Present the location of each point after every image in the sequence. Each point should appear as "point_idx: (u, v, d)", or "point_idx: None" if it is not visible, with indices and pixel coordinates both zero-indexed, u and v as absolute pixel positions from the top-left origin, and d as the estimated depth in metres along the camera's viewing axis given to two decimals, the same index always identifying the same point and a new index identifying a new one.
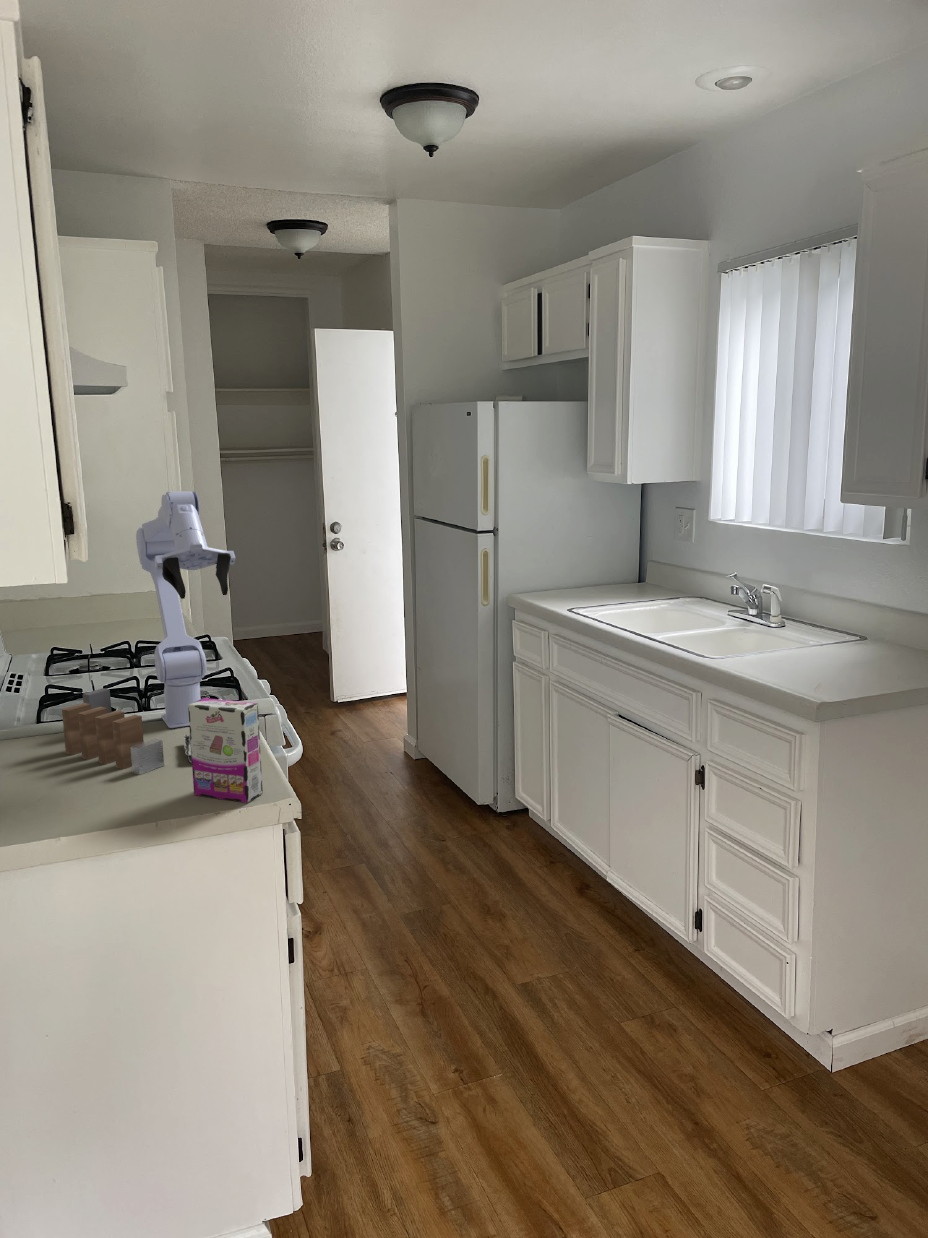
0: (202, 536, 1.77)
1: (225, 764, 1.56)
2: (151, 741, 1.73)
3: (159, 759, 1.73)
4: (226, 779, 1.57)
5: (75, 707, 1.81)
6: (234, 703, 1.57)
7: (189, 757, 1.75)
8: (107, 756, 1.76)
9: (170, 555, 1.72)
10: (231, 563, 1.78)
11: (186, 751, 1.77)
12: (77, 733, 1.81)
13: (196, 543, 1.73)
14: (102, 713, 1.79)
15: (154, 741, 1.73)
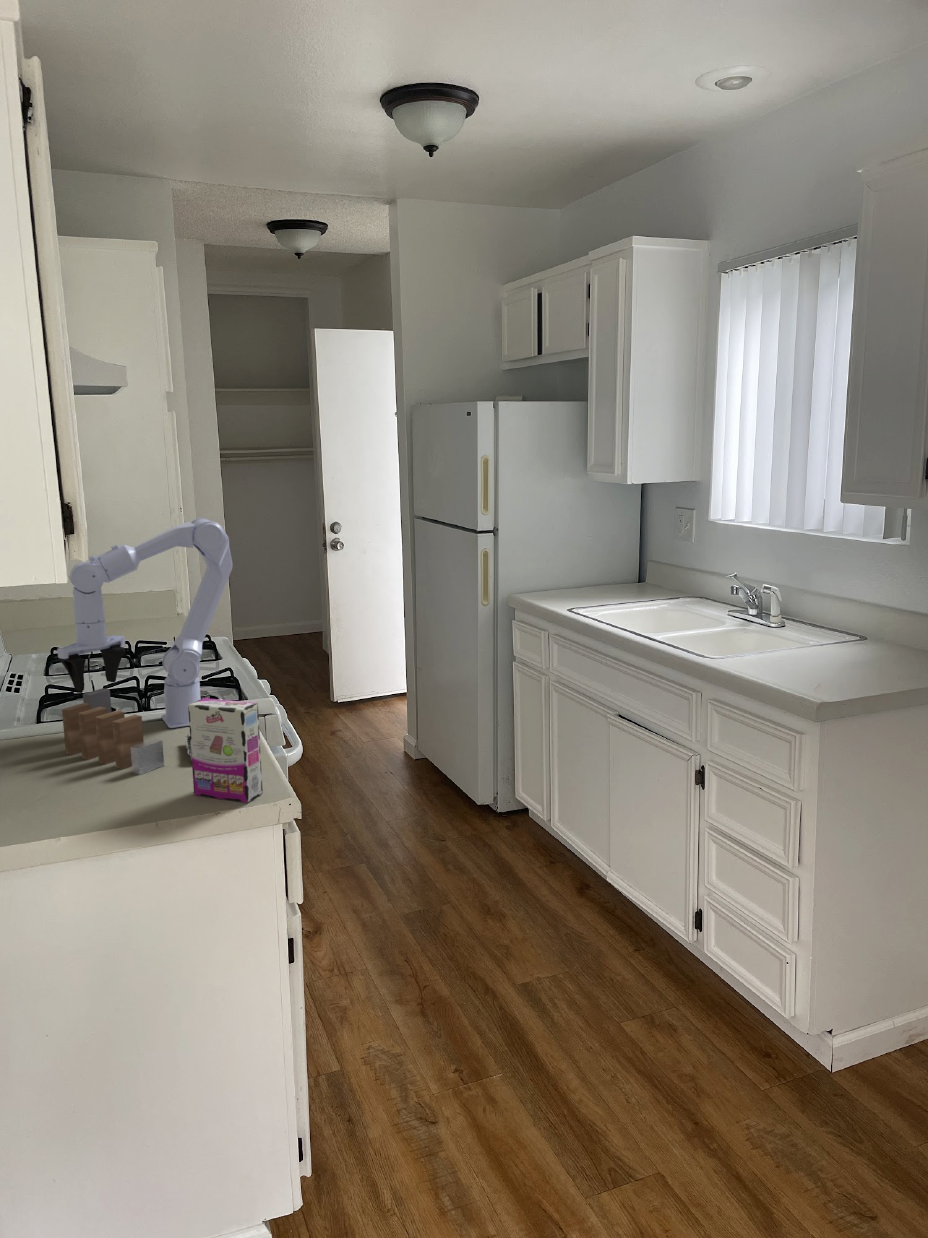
0: None
1: (225, 764, 1.56)
2: (151, 741, 1.73)
3: (159, 759, 1.73)
4: (226, 779, 1.57)
5: (75, 707, 1.81)
6: (234, 703, 1.57)
7: (191, 757, 1.75)
8: (108, 756, 1.76)
9: None
10: None
11: (188, 751, 1.77)
12: (77, 733, 1.81)
13: None
14: (102, 713, 1.79)
15: (154, 741, 1.73)
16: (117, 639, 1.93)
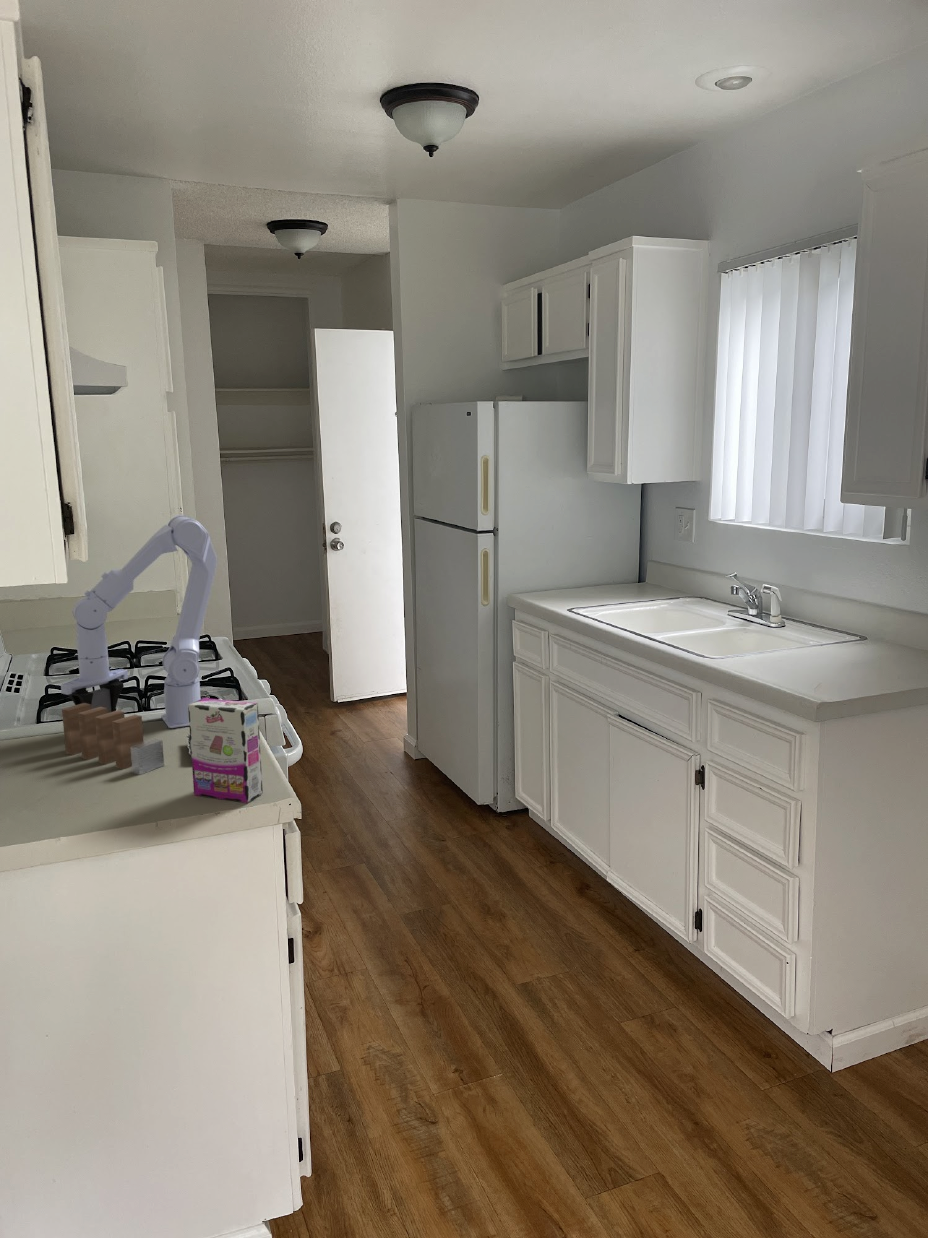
0: None
1: (225, 764, 1.56)
2: (151, 741, 1.73)
3: (159, 759, 1.73)
4: (226, 779, 1.57)
5: (75, 707, 1.81)
6: (234, 703, 1.57)
7: None
8: (107, 756, 1.76)
9: None
10: None
11: (190, 751, 1.77)
12: (77, 733, 1.81)
13: None
14: (102, 713, 1.79)
15: (154, 741, 1.73)
16: (119, 673, 1.95)
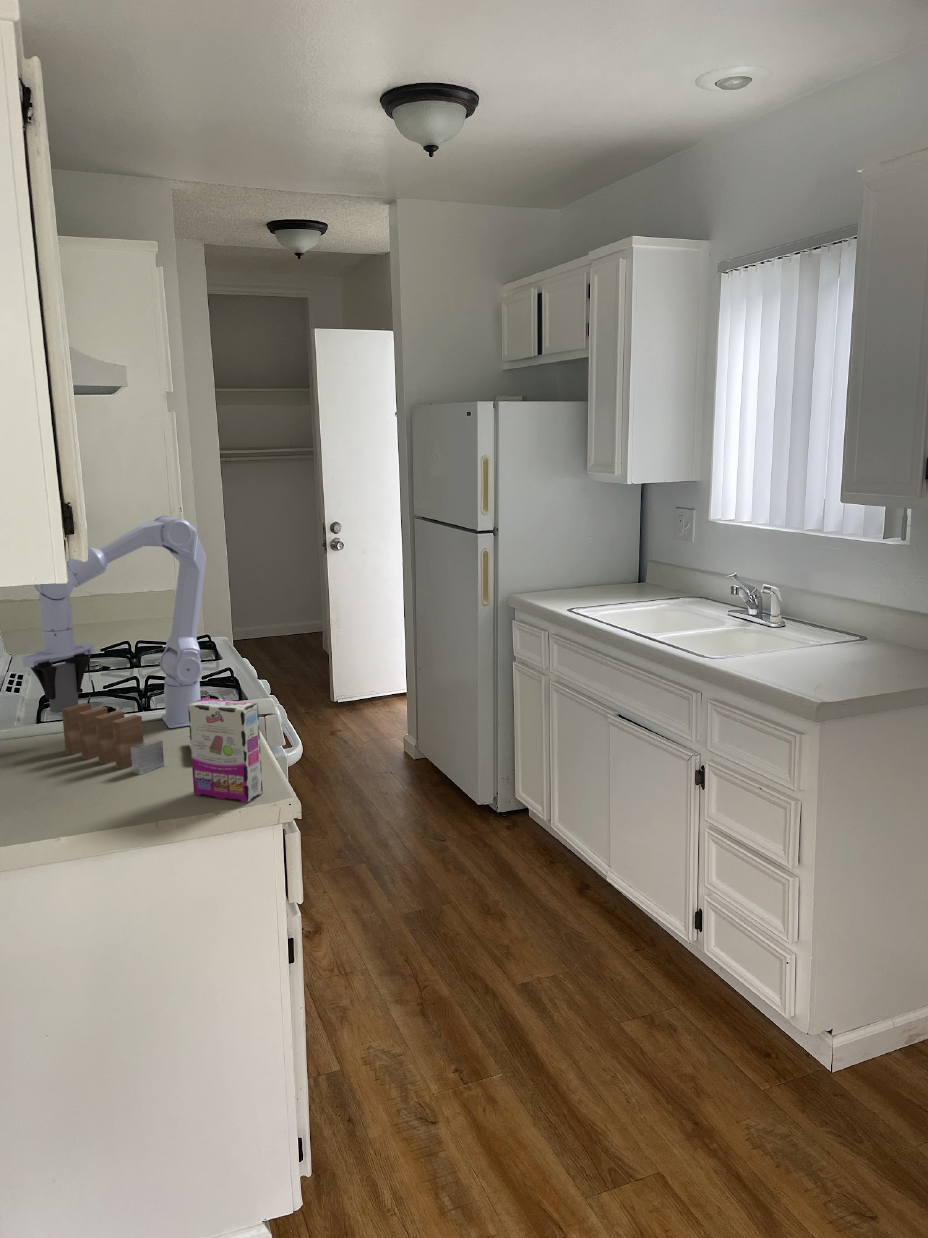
0: None
1: (225, 764, 1.56)
2: (151, 741, 1.73)
3: (159, 759, 1.73)
4: (226, 779, 1.57)
5: (75, 707, 1.81)
6: (234, 703, 1.57)
7: None
8: (107, 756, 1.76)
9: None
10: None
11: None
12: (77, 733, 1.81)
13: None
14: (102, 713, 1.79)
15: (154, 741, 1.73)
16: (86, 647, 1.87)
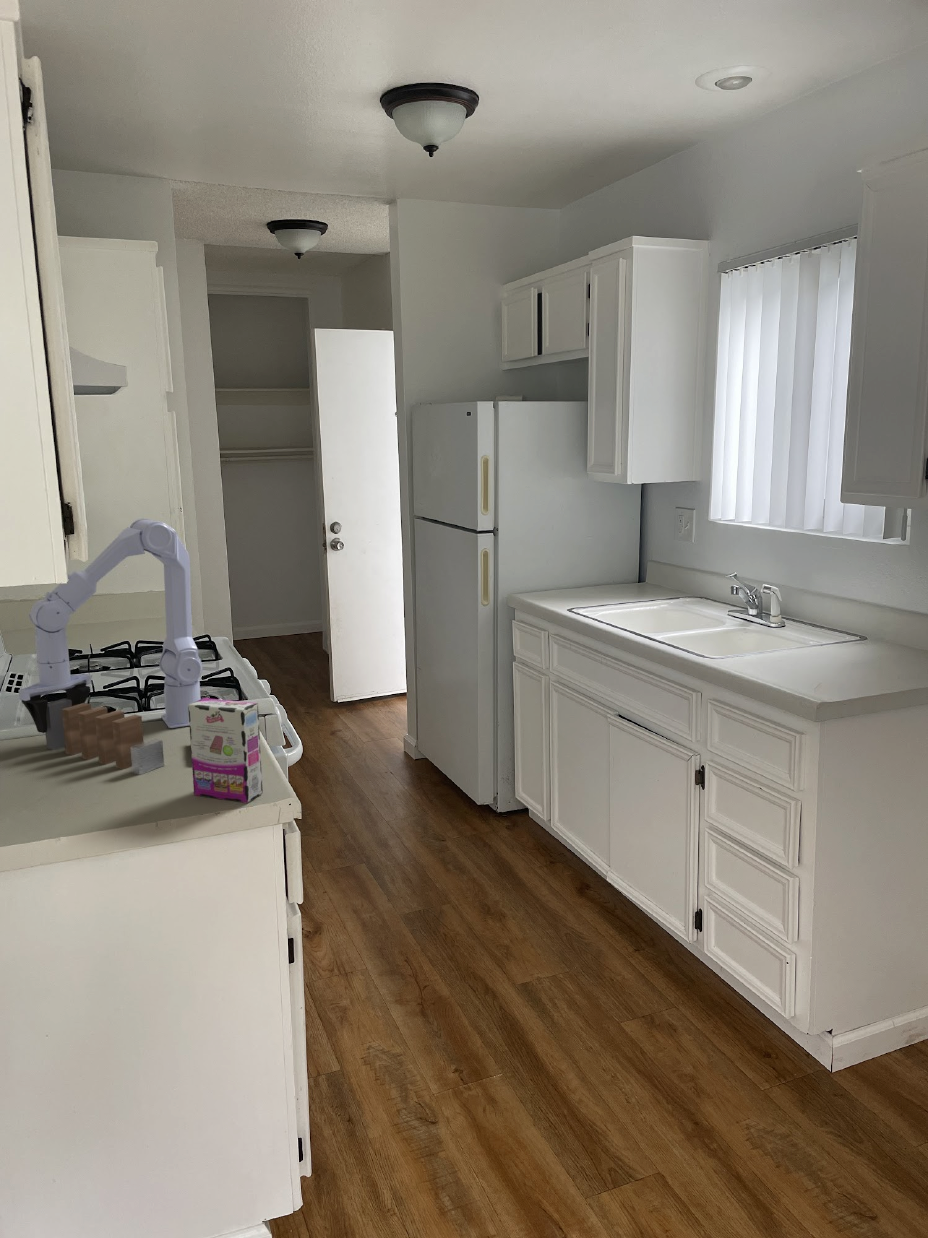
0: None
1: (225, 764, 1.56)
2: (151, 741, 1.73)
3: (159, 759, 1.73)
4: (226, 779, 1.57)
5: (75, 707, 1.81)
6: (234, 703, 1.57)
7: None
8: (108, 756, 1.76)
9: None
10: None
11: None
12: (77, 733, 1.81)
13: None
14: (102, 713, 1.79)
15: (154, 741, 1.73)
16: (82, 678, 1.87)
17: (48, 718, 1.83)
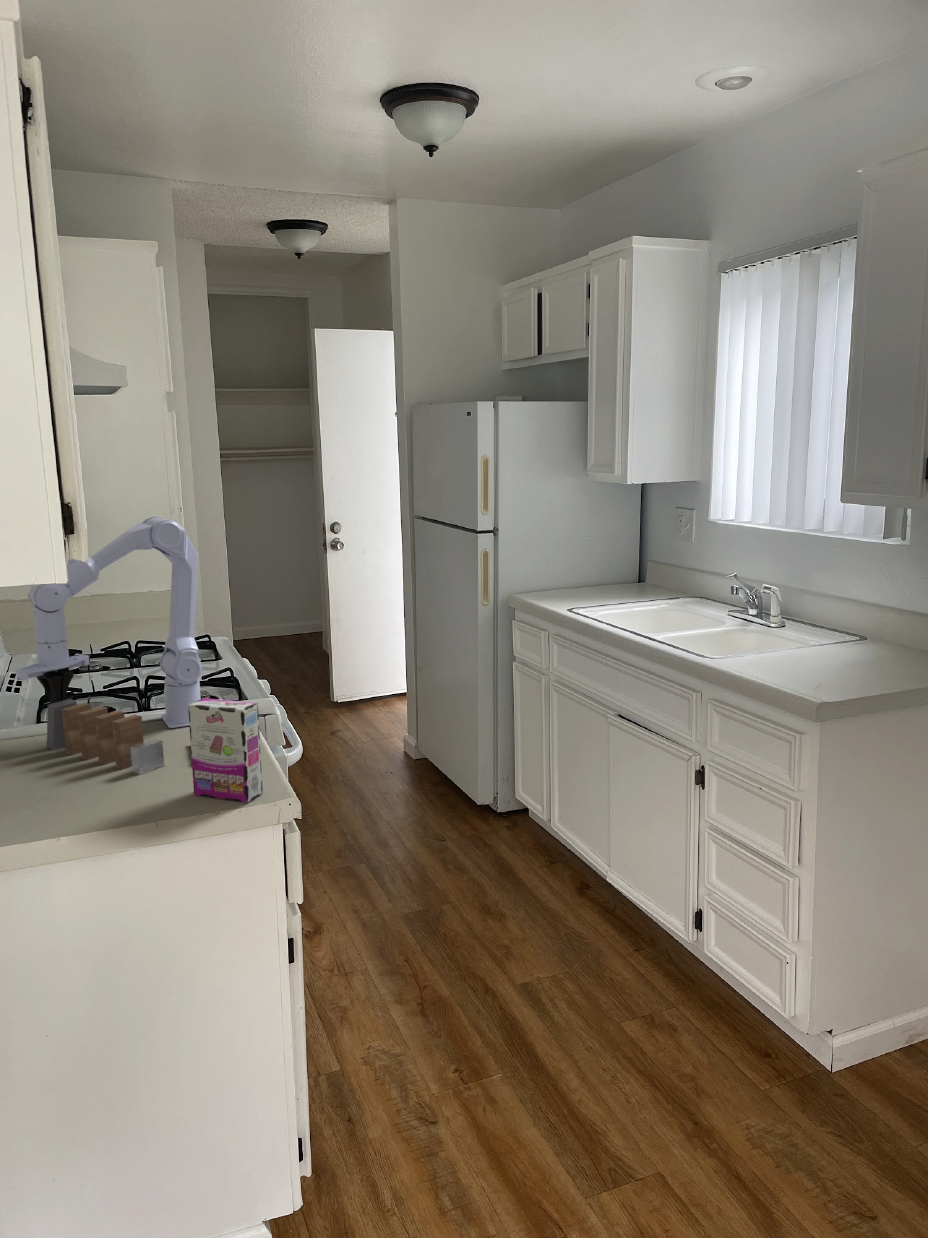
0: None
1: (225, 764, 1.56)
2: (151, 741, 1.73)
3: (159, 759, 1.73)
4: (226, 779, 1.57)
5: (75, 707, 1.81)
6: (234, 703, 1.57)
7: None
8: (107, 756, 1.76)
9: None
10: None
11: None
12: (77, 733, 1.81)
13: None
14: (102, 713, 1.79)
15: (154, 741, 1.73)
16: (80, 658, 1.87)
17: (52, 719, 1.82)
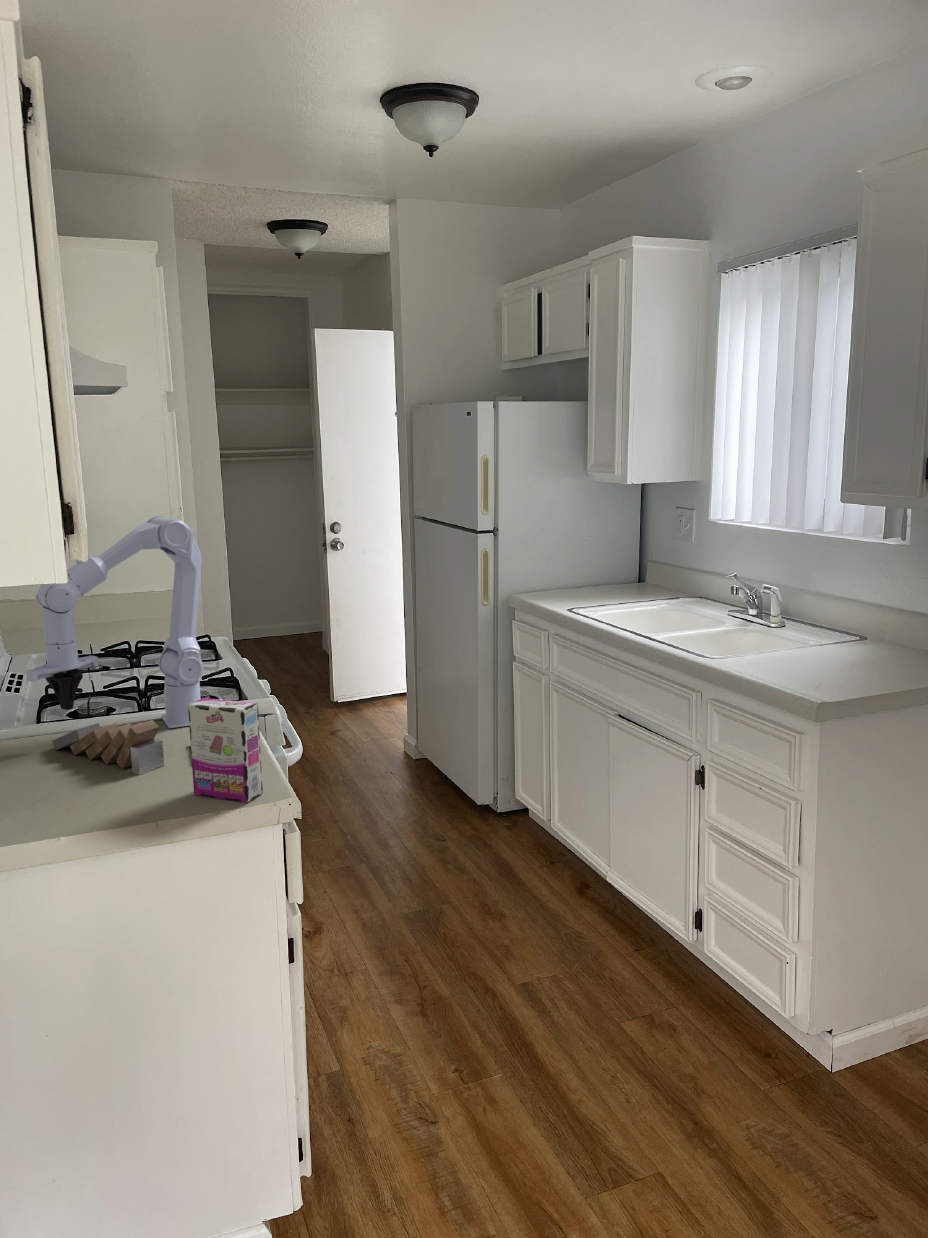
0: None
1: (225, 764, 1.56)
2: (151, 741, 1.73)
3: (159, 759, 1.73)
4: (226, 779, 1.57)
5: (105, 732, 1.77)
6: (234, 703, 1.57)
7: None
8: (112, 759, 1.75)
9: None
10: None
11: None
12: None
13: None
14: None
15: (154, 741, 1.73)
16: (89, 660, 1.86)
17: (71, 740, 1.80)
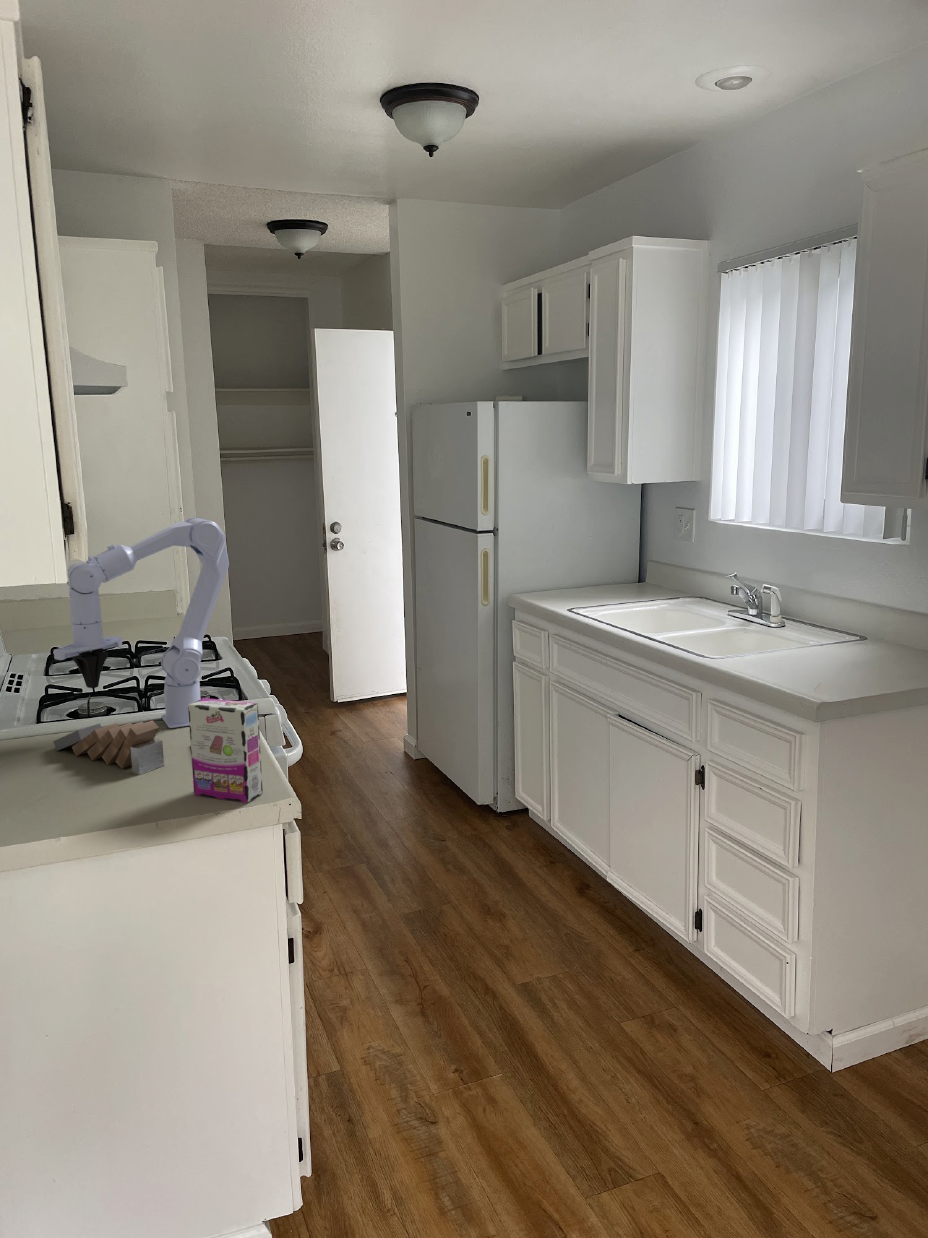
0: None
1: (225, 764, 1.56)
2: (151, 741, 1.73)
3: (159, 759, 1.73)
4: (226, 779, 1.57)
5: None
6: (234, 703, 1.57)
7: None
8: (113, 759, 1.75)
9: None
10: None
11: None
12: None
13: None
14: None
15: (154, 741, 1.73)
16: (114, 640, 1.92)
17: (73, 740, 1.80)
